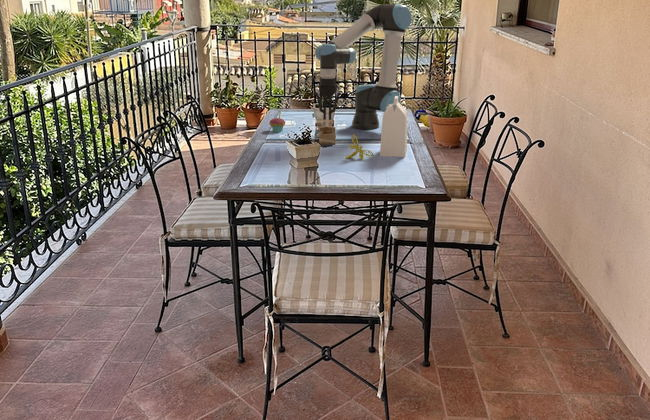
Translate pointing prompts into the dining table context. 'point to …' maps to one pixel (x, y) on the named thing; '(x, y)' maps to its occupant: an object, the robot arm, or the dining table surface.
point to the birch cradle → (327, 137)
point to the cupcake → (277, 123)
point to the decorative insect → (357, 149)
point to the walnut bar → (327, 129)
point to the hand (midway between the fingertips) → (327, 126)
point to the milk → (394, 130)
